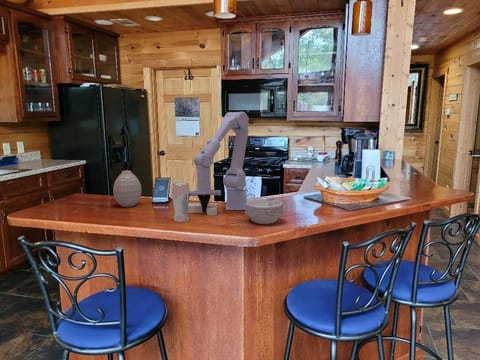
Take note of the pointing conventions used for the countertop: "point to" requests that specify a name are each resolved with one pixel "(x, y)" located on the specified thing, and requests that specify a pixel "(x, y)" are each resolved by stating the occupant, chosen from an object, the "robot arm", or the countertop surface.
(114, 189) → the vase
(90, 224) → the countertop surface
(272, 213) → the paper bowls
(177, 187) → the beer glass
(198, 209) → the white striped box
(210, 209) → the stub
